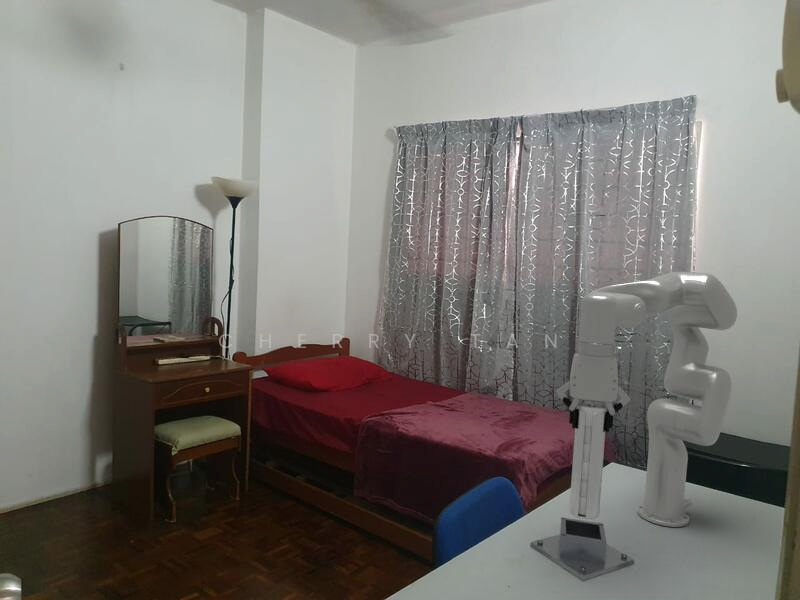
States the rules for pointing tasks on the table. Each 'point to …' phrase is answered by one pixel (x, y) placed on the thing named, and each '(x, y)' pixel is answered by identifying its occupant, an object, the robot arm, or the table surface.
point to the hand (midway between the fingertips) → (590, 428)
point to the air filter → (588, 460)
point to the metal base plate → (582, 549)
